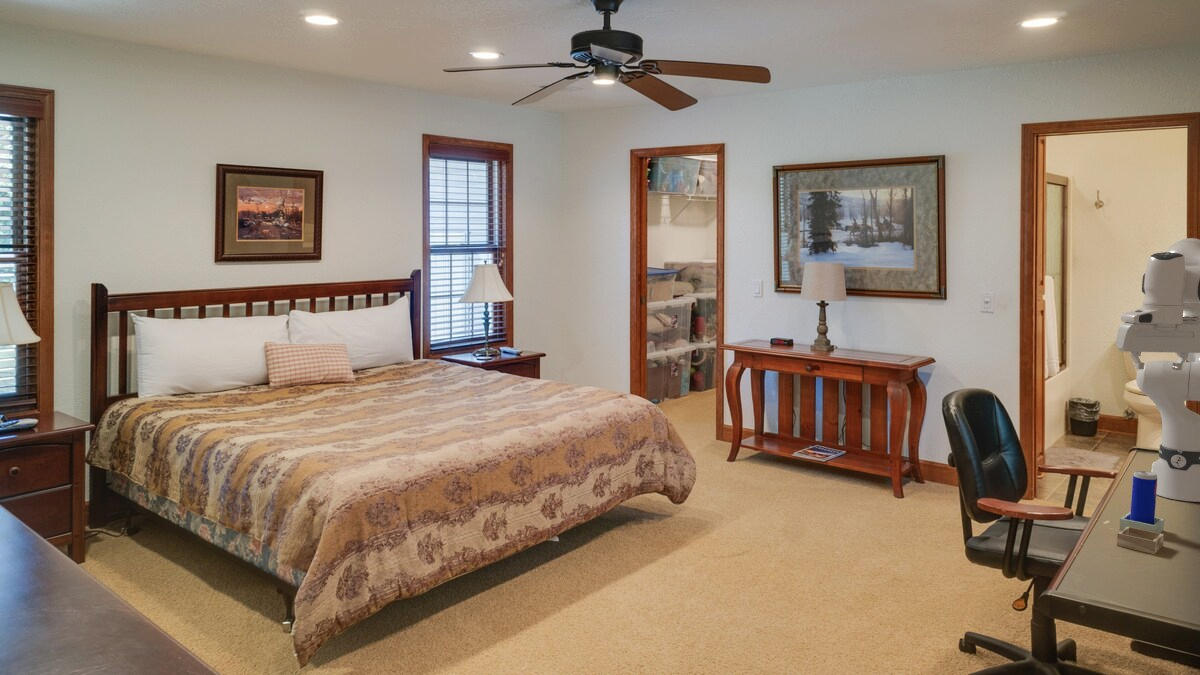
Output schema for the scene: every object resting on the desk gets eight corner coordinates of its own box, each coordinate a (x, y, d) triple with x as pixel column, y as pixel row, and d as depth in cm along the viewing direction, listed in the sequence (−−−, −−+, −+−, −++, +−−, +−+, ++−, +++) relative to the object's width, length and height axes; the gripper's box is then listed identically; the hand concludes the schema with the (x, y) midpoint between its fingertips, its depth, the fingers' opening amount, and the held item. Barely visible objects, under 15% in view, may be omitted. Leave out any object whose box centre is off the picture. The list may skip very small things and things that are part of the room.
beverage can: (1157, 534, 212) (1161, 476, 210) (1134, 533, 213) (1138, 475, 211) (1148, 527, 217) (1152, 470, 215) (1126, 526, 218) (1130, 469, 216)
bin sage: (1128, 523, 220) (1129, 512, 220) (1163, 530, 214) (1164, 519, 214) (1119, 530, 215) (1120, 518, 214) (1154, 537, 209) (1155, 526, 209)
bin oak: (1126, 537, 209) (1127, 526, 209) (1163, 546, 203) (1164, 534, 203) (1116, 545, 204) (1117, 533, 203) (1154, 554, 198) (1154, 541, 198)
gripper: (1196, 315, 218) (1192, 368, 219) (1114, 314, 219) (1111, 367, 221) (1212, 317, 212) (1208, 372, 213) (1128, 316, 213) (1124, 370, 214)
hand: (1158, 369), depth 217 cm, fingers open, 8 cm apart
